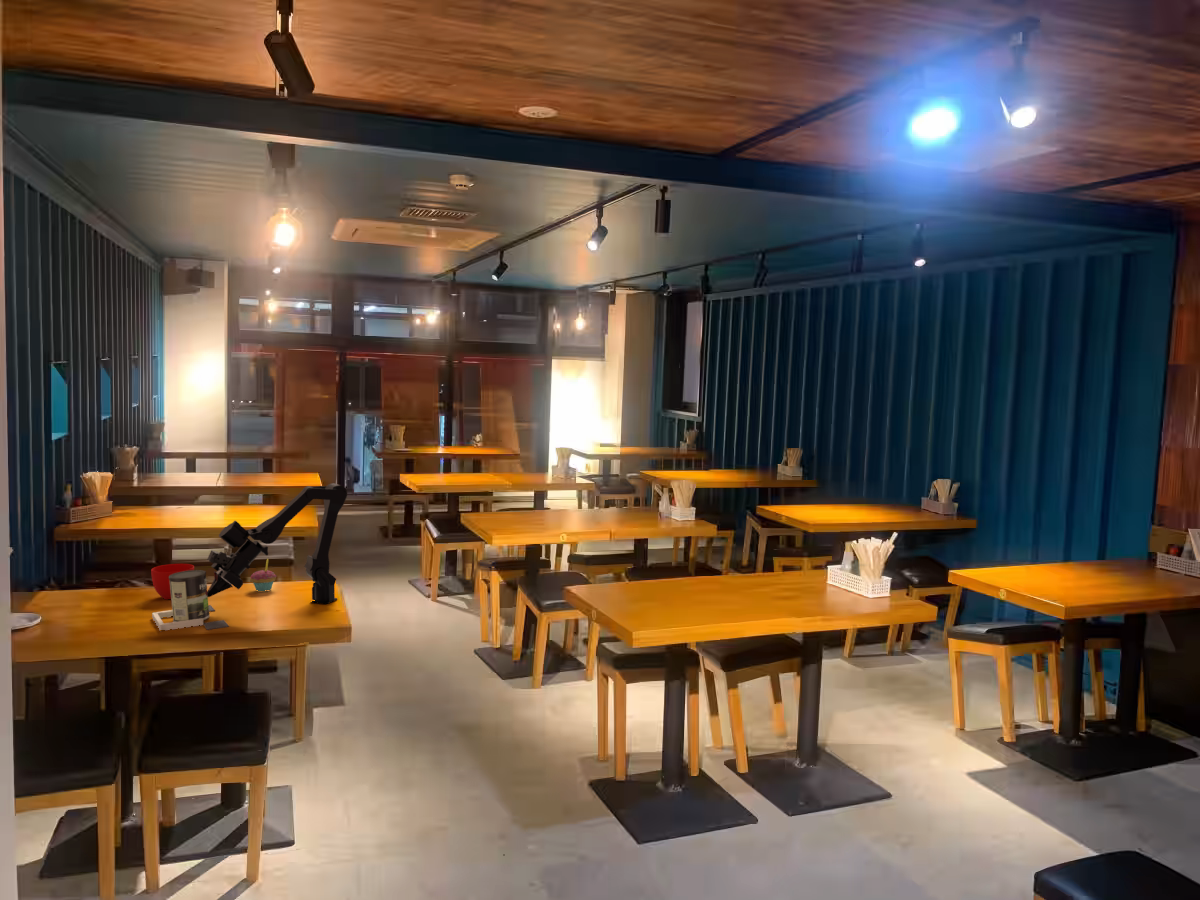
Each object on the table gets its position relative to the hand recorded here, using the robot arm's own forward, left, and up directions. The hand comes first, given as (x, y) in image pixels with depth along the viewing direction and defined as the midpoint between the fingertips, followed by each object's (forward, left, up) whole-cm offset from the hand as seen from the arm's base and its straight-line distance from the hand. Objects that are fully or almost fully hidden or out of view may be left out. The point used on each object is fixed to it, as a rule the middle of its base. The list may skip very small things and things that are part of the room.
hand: (206, 596), depth 268 cm
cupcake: (+6, -33, -7) cm, 34 cm away
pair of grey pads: (0, 0, -7) cm, 7 cm away
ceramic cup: (+26, -16, -7) cm, 31 cm away
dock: (+5, +7, -7) cm, 11 cm away
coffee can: (+3, +4, -7) cm, 8 cm away
